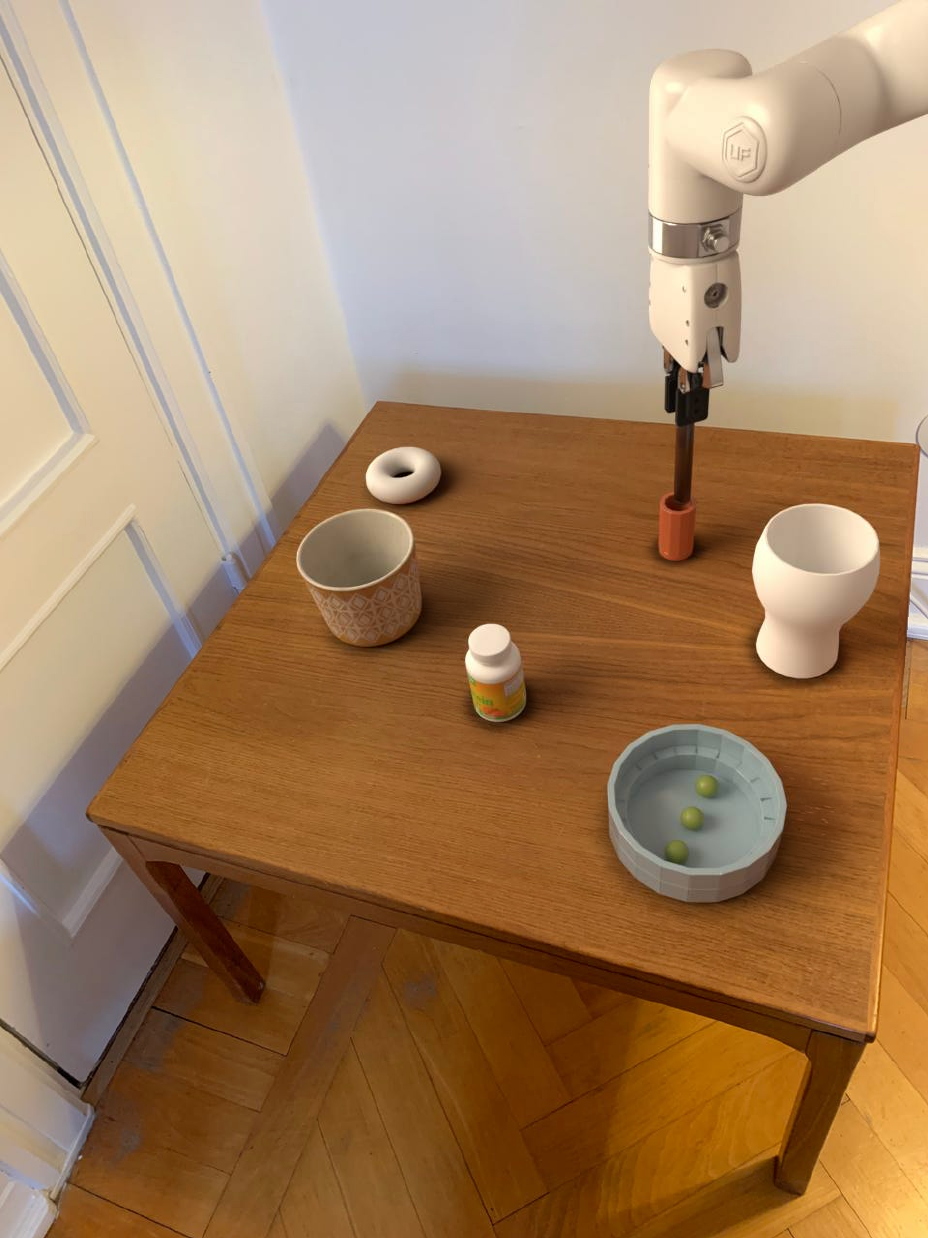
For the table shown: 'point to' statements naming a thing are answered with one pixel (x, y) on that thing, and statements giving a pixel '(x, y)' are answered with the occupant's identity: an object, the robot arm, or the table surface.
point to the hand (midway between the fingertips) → (685, 414)
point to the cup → (811, 584)
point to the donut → (405, 487)
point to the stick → (683, 460)
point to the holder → (676, 528)
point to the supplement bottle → (495, 673)
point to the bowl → (733, 819)
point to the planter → (363, 575)
